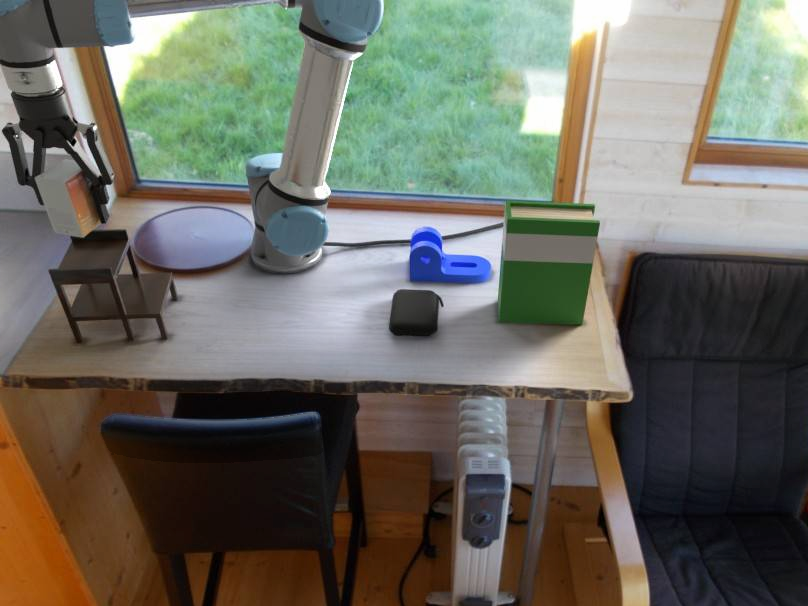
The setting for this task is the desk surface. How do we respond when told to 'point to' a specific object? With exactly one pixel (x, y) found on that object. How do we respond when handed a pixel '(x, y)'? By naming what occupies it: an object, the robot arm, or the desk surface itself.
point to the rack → (109, 283)
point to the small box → (68, 199)
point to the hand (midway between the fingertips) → (81, 220)
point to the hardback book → (546, 261)
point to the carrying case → (414, 313)
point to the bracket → (443, 261)
